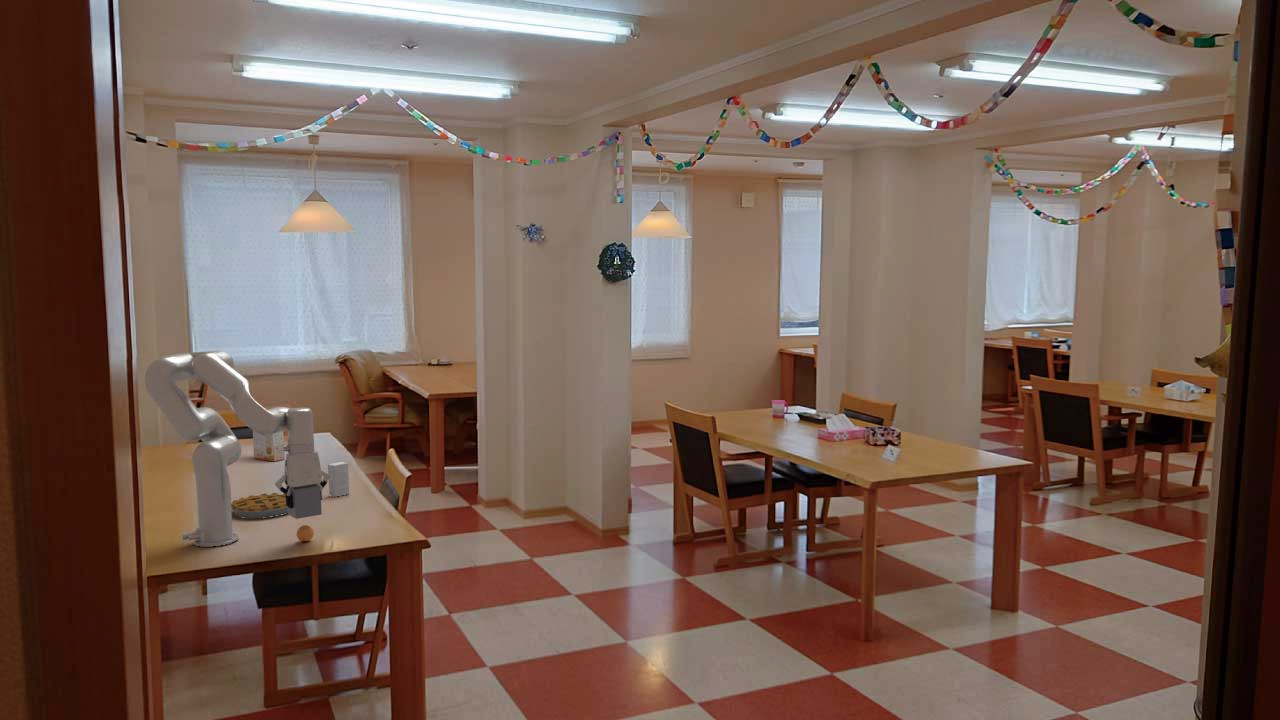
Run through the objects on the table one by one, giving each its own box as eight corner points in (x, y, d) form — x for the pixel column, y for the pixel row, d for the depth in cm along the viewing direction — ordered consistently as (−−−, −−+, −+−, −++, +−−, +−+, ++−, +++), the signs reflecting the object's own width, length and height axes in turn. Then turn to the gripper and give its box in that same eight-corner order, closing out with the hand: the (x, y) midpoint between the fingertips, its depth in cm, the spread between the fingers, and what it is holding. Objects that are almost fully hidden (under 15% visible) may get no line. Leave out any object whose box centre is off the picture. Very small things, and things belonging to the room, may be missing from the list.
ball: (294, 524, 291) (292, 537, 292) (302, 533, 288) (299, 546, 289) (310, 520, 294) (308, 533, 296) (317, 529, 291) (315, 542, 293)
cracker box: (285, 459, 417) (283, 412, 415) (273, 462, 412) (271, 414, 410) (265, 456, 425) (263, 410, 423) (253, 459, 420) (251, 412, 418)
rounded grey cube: (296, 518, 285) (294, 490, 284) (287, 513, 291) (286, 485, 290) (321, 514, 290) (320, 486, 289) (312, 509, 296) (311, 481, 295)
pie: (221, 511, 329) (221, 497, 329) (285, 501, 343) (284, 488, 343) (242, 524, 313) (241, 509, 312) (307, 513, 327) (307, 499, 326)
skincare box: (343, 492, 355) (341, 461, 354) (349, 494, 352) (348, 462, 351) (328, 495, 351) (327, 464, 349) (335, 497, 348) (334, 465, 347)
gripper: (276, 454, 280) (279, 512, 282) (334, 446, 291) (336, 502, 292) (268, 450, 286) (271, 507, 287) (325, 443, 296) (327, 498, 298)
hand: (304, 504), depth 290 cm, fingers closed on rounded grey cube, 7 cm apart
